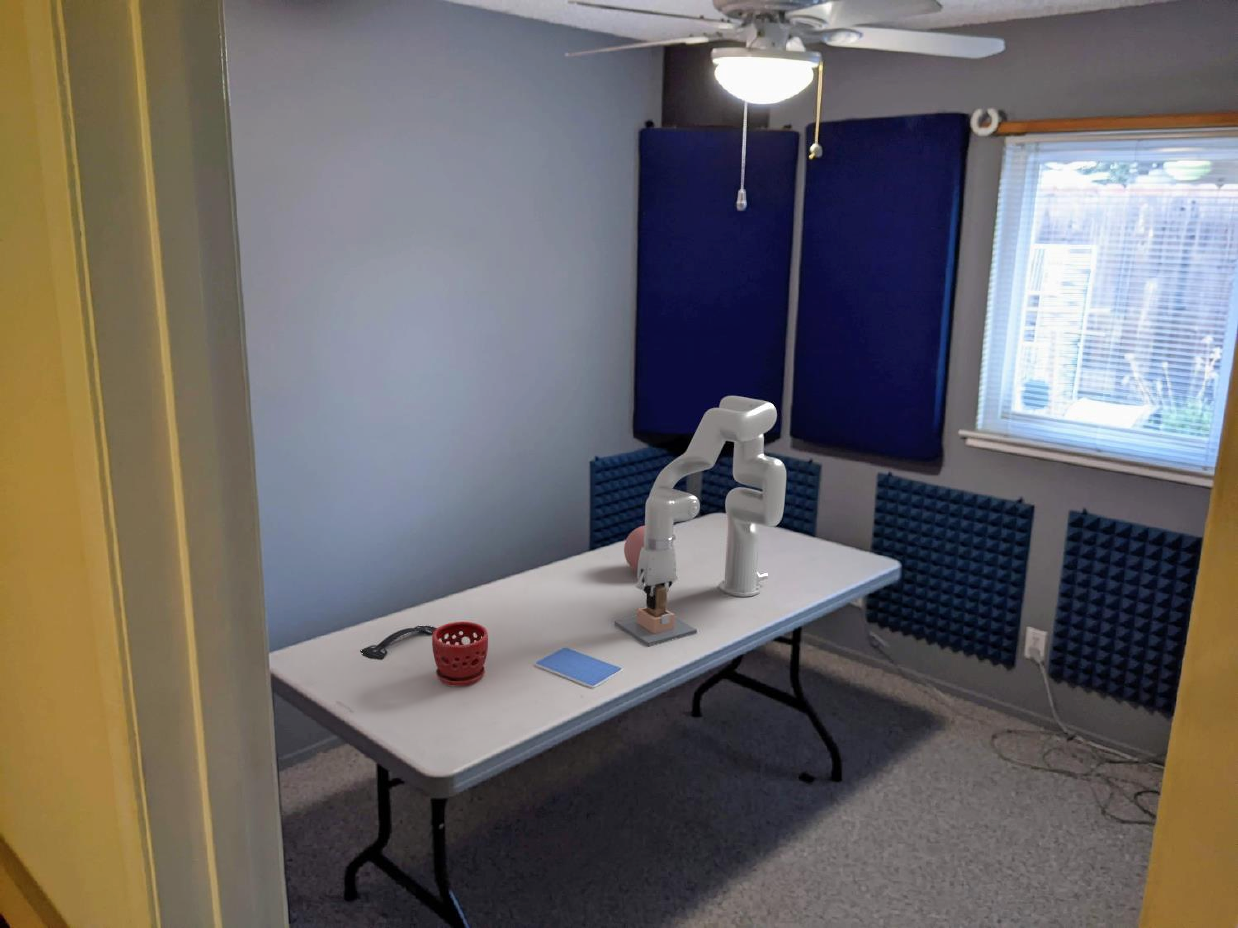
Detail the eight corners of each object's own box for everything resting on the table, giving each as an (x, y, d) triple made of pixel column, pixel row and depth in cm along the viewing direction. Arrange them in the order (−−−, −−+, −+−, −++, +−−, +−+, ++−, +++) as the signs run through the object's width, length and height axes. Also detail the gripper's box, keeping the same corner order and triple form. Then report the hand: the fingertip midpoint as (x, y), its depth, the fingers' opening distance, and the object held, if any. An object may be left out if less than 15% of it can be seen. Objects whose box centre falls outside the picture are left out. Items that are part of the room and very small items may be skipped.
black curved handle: (351, 656, 239) (350, 643, 238) (425, 624, 259) (425, 612, 258) (375, 666, 234) (374, 654, 233) (449, 633, 254) (448, 621, 253)
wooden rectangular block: (655, 616, 260) (656, 582, 257) (665, 622, 256) (666, 587, 254) (646, 618, 258) (647, 584, 256) (656, 624, 255) (657, 589, 252)
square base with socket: (661, 612, 269) (662, 593, 267) (696, 633, 256) (697, 613, 254) (614, 624, 260) (615, 605, 258) (648, 646, 247) (649, 626, 246)
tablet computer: (625, 672, 234) (625, 667, 233) (593, 691, 224) (593, 686, 224) (564, 650, 245) (564, 645, 245) (532, 667, 235) (532, 662, 235)
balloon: (689, 568, 304) (691, 522, 300) (653, 585, 288) (655, 537, 284) (650, 557, 313) (652, 512, 309) (613, 573, 297) (614, 527, 293)
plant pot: (422, 677, 228) (421, 631, 225) (467, 660, 237) (466, 616, 234) (454, 697, 219) (453, 649, 216) (499, 679, 228) (499, 633, 225)
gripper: (674, 533, 259) (671, 596, 264) (625, 543, 250) (623, 607, 255) (691, 541, 253) (688, 605, 258) (641, 551, 244) (639, 617, 249)
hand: (656, 605), depth 256 cm, fingers closed on wooden rectangular block, 2 cm apart
